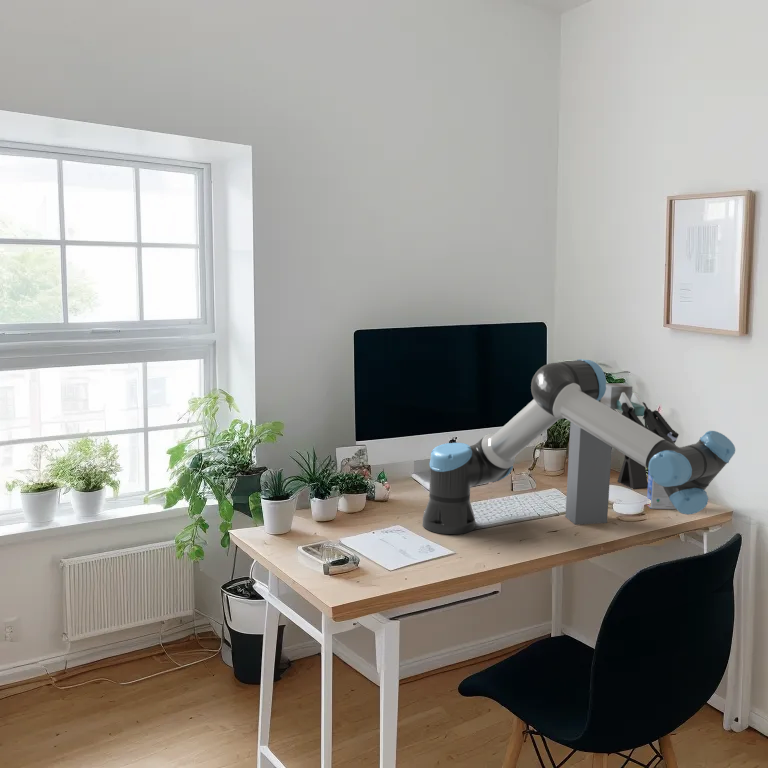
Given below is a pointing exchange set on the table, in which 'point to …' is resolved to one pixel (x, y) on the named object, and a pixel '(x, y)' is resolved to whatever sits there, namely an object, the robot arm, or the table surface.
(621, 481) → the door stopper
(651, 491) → the ink cartridge box
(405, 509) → the table surface
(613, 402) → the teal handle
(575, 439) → the charcoal stand
